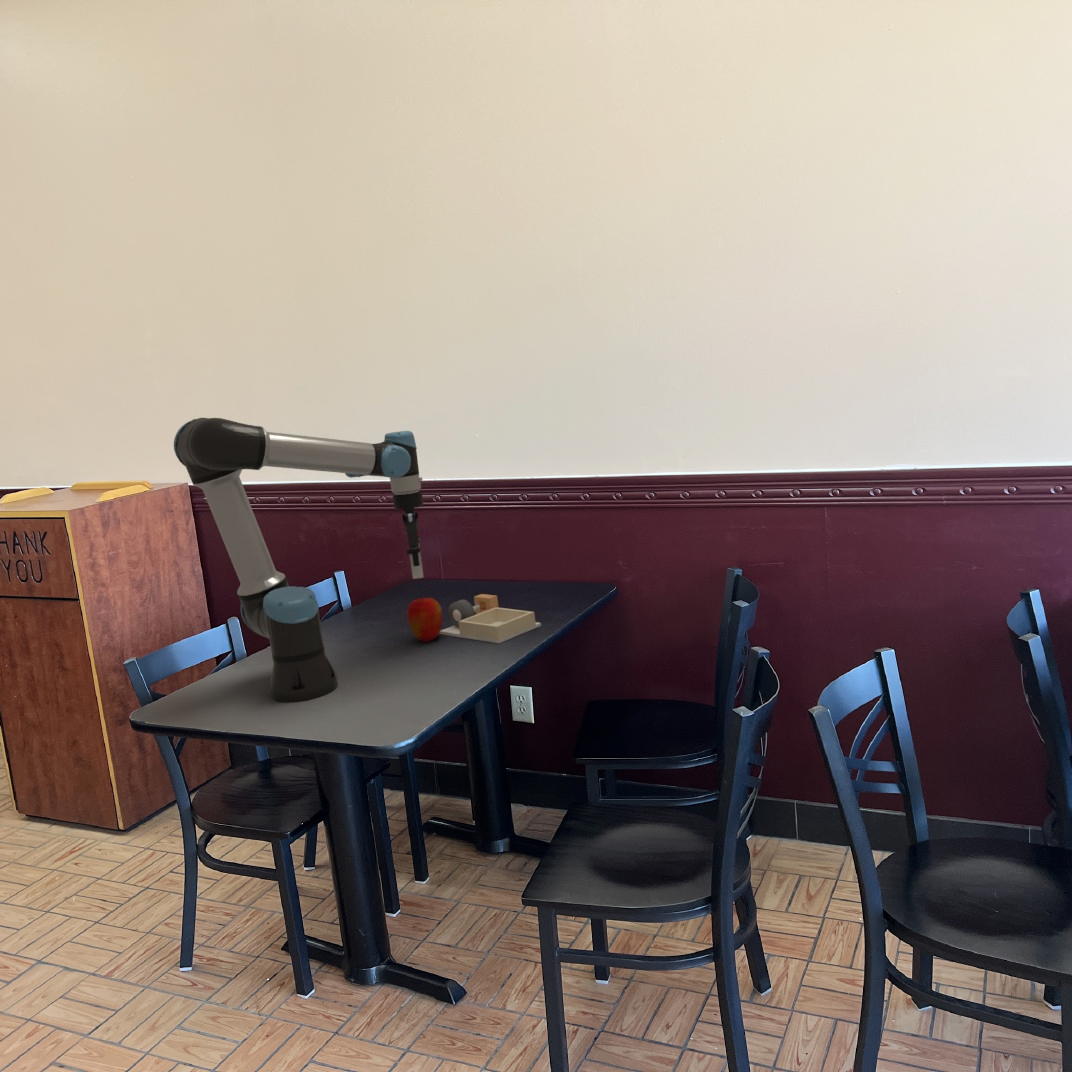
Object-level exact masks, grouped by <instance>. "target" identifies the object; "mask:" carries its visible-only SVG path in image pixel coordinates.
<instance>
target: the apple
mask: <svg viewBox="0 0 1072 1072" xmlns="http://www.w3.org/2000/svg"><path fill="white" fill-rule="evenodd" d="M420 597H421V598H417V599H415V600H414V599H413V600H412V601H411V602H410V603H409V604H408V607H407V613H406V616H407V620H408V624H409V627H410V629H411V631H412V633H413V636H414V637H415V638H416V639H417V640H419V641H420V642H421V643H422V642H423V643H425V642H430V641H432V640H434V639H435V638H436V637H437V636H438V635H440V631H441V630H442V628H441V627H442V624H443V611H442V610H443V609H442V607H441V605H440V602H438V601H437V600H435V599H434V598H432V597H423V595H421V596H420Z"/></svg>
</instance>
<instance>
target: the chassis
mask: <svg viewBox="0 0 1072 1072" xmlns="http://www.w3.org/2000/svg"><path fill="white" fill-rule="evenodd" d="M473 599H474V600H473V603H474V606H476V605H480V610H477V611H475V615H474V616H471V617H469V618H466V619H463V620H461V621H458V623H459V628H457V627H455V626H454V625H452V626H449V627H446V628H444V629H440V633H439V635H443V636H450V637H457V638H463V639H469V640H476V641H482V642H488V643H494V644H495V643H496V644H500V643H504V642H506V641H508V640H511V639H513V638H515V637H517V636H520V635H522V634H525V633H528V632H529V631H532V630H534V629H537V628H539V627H541V626H542V623H541V622H536V616H535V615H536V613H535V611H530V610H529V611H528V610H521V609H513V608H506V607H505V608H504V607H499V601H498V595H494V594H493V595H492V594H486V593H485V594H484V593H481V594H478V595H475V596H474V597H473Z"/></svg>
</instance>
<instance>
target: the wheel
mask: <svg viewBox="0 0 1072 1072" xmlns="http://www.w3.org/2000/svg"><path fill="white" fill-rule="evenodd" d="M477 610H480V605H476V606H475V605H472V604H471V603H470V602H469V600H467V599H464V598H463V599H460V600H456V601H454V602H452V603H450V604H449V606H448V611H447V612H448V618H449V621H450V622H451V624H452V626H455V627H457V628H459V623H458V621H461V620H463V619H466V618H469V617H471V616H474V615H476V611H477Z"/></svg>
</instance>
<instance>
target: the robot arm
mask: <svg viewBox="0 0 1072 1072" xmlns="http://www.w3.org/2000/svg"><path fill="white" fill-rule="evenodd" d="M417 449H418V447H417V445H416V440H415V436H414V433H413V432H412V431H410V430H400V431H394V432H392V431H391V432H387V433H386V434H385V435H384V440H383V441H382V442H377V443H371V442H370V443H369V442H360V441H352V440H344V439H333V438H325V437H317V436H307V435H298V434H290V433H281V432H272V431H267V430H266V429H265V428H264V427H263V426H261V425H260V426H259V425H251V424H246V423H242V422H241V423H240V422H237V421H234V420H230V419H226V418H222V417H209V418H207V417H199V418H193V419H192V420H190V421H187V422H185V423H184V424H183V425H182V426H181V427H179V429H177V432H176V434H175V436H174V439H173V452H174V454H175V456H176V458H177V459H178V461H179V462H180V463H181V464H182V465H183V467H185V469H186V470H187V473H188V477H189V478H190V480H191V483H192V485H193V486H195V487H197V488H199V489H201V490H202V492H203V494H204V496H205V499H206V502H207V503H208V506H209V509H210V511H211V514H212V516H213V519H214V521H215V524H216V525H217V529H218V531H219V533H220V536H221V538H222V541H223V543H224V544H223V545H224V546H225V548H226V551H227V553H228V556H229V558H230V561H231V563H232V565H233V566H232V567H233V568H234V571H235V573H236V576H237V577H238V580H239V583H240V585H239V587H238V589H237V591H236V594H237V595H238V599H239V601H240V614H241V618H242V620H243V622H244V624H245V625H246V626H247V628H249V629H250V630H251V631H252V632H254V633H255V634H257V635H259V636H261V637H264V638H267V639H268V640H269V644H270V651H271V656H272V664H273V665H272V669H271V670H272V671H271V676H270V682H269V692H270V698H271V699H272V700H274V701H277V702H284V703H285V702H288V703H289V702H299V701H300V702H301V701H306V700H311V699H314V698H318V697H321V696H323V695H326V694H329V693H330V692H332V691H334V690H335V689H337V687H338V684H339V683H338V678H337V674H336V671H335V670H334V668H333V666H332V664H331V662H330V660H329V658H328V656H327V654H326V652H325V644H324V639H323V633H322V625H321V619H320V612H319V611H320V610H319V603H318V601H317V597H316V594H315V592H314V591H313V590H312V589H310V588H308V587H304V586H298V587H297V586H296V585H295V586H292V585H291V586H290V585H289V582H288V580H287V577H286V575H285V573H282V572H280V571H278V570H276V567H275V565H274V561H273V560H272V557H271V555H270V551H269V549H268V547H267V544H266V542H265V539H264V536H263V533H262V531H261V528H260V526H259V524H258V521H257V519H256V516H255V514H254V511H253V509H252V506H251V503H250V501H249V498H248V495H247V493H246V490H245V488H244V485H243V482H242V480H241V478H240V475H241V473H242V471H243V470H253V471H260V470H261V469H262V468H263V467H270V468H281V469H282V468H283V469H291V470H292V469H293V470H294V469H295V470H307V471H317V472H329V473H340V474H344V475H345V476H346V477H347V478H351V479H352V478H361V477H366V476H370V477H372V476H373V477H384V478H389V481H390V490H391V493H393V494H392V504H393V508H394V509H396V510H403V511H404V514H402V522H403V524H404V530H405V532H406V533H407V540H408V548H409V549H408V550H406V555H409V561H410V567H411V575H412V579H413V580H415V579H423V578H424V571H423V562H422V555H421V548H420V546H421V545H420V543H421V542H422V538H421V537H419V535H418V530H419V514H418V512H415V508H420V507H422V506H423V505H424V498H423V492H422V491H421V488H422V484H421V482H422V481H423V477H422V476H420V471H419V470H420V469H419V462H418V453H417V452H418V451H417Z"/></svg>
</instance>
